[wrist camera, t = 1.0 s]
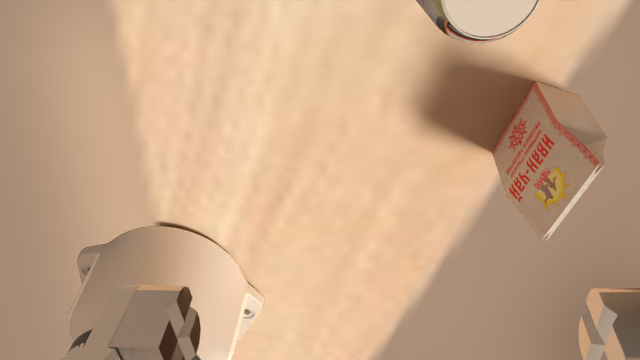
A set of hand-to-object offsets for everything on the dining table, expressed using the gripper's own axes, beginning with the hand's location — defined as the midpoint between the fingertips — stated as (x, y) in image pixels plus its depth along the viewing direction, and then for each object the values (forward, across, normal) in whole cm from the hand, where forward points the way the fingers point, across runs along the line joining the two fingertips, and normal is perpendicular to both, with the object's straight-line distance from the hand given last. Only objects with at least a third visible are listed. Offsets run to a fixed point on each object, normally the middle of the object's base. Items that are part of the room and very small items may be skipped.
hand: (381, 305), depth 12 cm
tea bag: (+31, -12, +15) cm, 36 cm away
